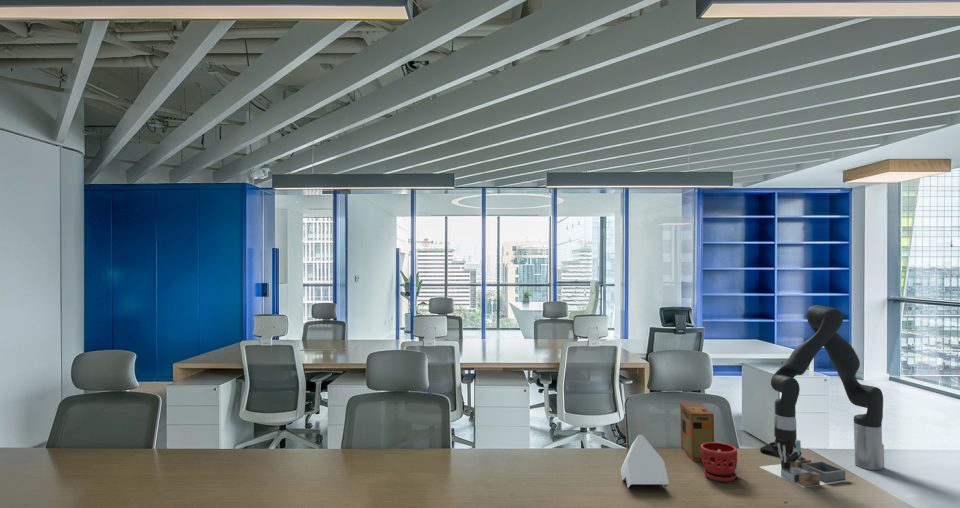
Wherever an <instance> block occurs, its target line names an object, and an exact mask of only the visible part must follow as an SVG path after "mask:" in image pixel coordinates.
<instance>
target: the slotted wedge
mask: <svg viewBox="0 0 960 508" xmlns="http://www.w3.org/2000/svg"><path fill="white" fill-rule="evenodd" d="M620 474H621V480H622V481H626V486H627V488H629V487H630V486H631V485H664V489H666V488H667V487H668V486H669V485H670V482H669V477H668V473H667V468H666V464H665V460H664V459H663V458H662V456H661V455H660V454H659V452H657V451H656V449H655V448H654V447H653V446H652V445H651V443H650V442H649V441H648V440H647V438H645V436H644V435H643V434H638V435H637V436H636V438H635V440H633V442H632V444H631V446H630V448H629V449H628V452H627V455H626V457H625V459H624V461H623V463H622V466H621V468H620Z"/></svg>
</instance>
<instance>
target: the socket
mask: <svg viewBox="0 0 960 508" xmlns="http://www.w3.org/2000/svg"><path fill="white" fill-rule="evenodd" d="M787 459H788V457H787ZM810 462H812V459H809V458H806V457H804V456H802V455H801V460H796V461H795V462H790V468H794V467H799V468H801V469H802V466H801V464H802V463H810Z"/></svg>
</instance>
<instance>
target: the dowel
mask: <svg viewBox="0 0 960 508" xmlns="http://www.w3.org/2000/svg"><path fill="white" fill-rule="evenodd" d="M795 445H796V449H797V450H798V452H801V453H802V450H801V449H802V448H801V447H802V446H801V440H799V439H796V441H795ZM801 456H802V454H801V455H800V457H799V458H798V459H797V460H801Z"/></svg>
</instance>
